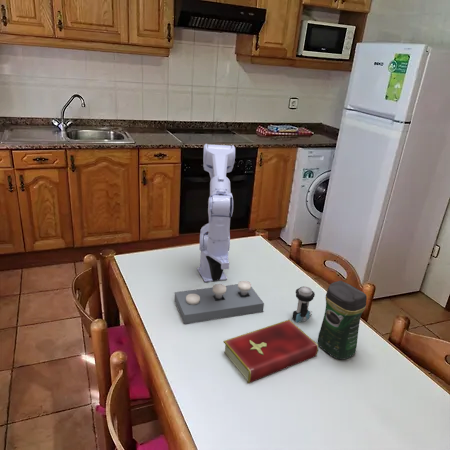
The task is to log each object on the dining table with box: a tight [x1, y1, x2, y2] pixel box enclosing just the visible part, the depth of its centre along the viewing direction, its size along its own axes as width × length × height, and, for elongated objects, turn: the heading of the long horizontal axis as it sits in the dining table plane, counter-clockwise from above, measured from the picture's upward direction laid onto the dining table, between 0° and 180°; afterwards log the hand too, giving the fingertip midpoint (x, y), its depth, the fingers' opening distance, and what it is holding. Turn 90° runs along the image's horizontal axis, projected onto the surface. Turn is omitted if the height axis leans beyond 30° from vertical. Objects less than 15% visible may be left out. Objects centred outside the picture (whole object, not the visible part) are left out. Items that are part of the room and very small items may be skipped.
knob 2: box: [237, 280, 252, 295], centre depth 122 cm, size 4×4×3 cm
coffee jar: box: [317, 280, 368, 360], centre depth 104 cm, size 10×8×19 cm
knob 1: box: [186, 294, 200, 305], centre depth 118 cm, size 4×4×3 cm
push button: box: [291, 286, 316, 324], centre depth 117 cm, size 7×5×10 cm
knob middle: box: [212, 283, 227, 299], centre depth 120 cm, size 4×4×3 cm
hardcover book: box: [223, 319, 319, 384], centre depth 103 cm, size 12×21×4 cm, turn 120°
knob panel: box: [174, 283, 265, 325], centre depth 121 cm, size 12×24×3 cm, turn 110°
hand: (215, 279), depth 118 cm, fingers closed
